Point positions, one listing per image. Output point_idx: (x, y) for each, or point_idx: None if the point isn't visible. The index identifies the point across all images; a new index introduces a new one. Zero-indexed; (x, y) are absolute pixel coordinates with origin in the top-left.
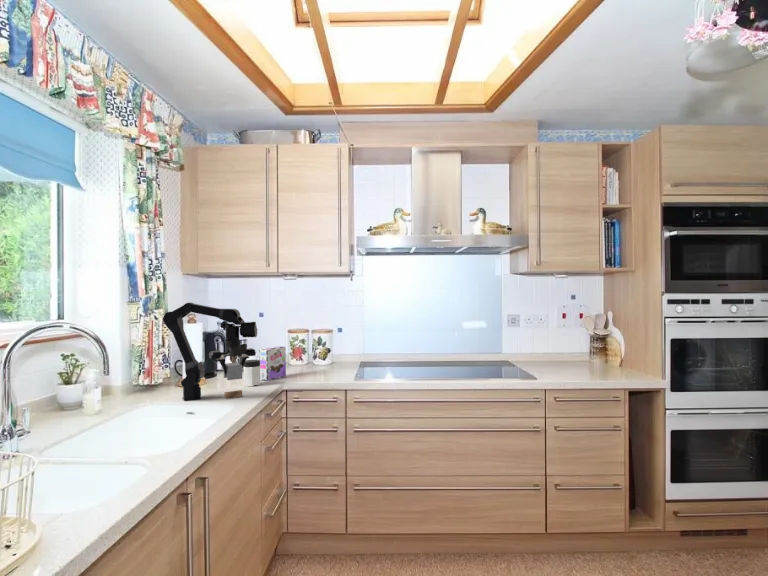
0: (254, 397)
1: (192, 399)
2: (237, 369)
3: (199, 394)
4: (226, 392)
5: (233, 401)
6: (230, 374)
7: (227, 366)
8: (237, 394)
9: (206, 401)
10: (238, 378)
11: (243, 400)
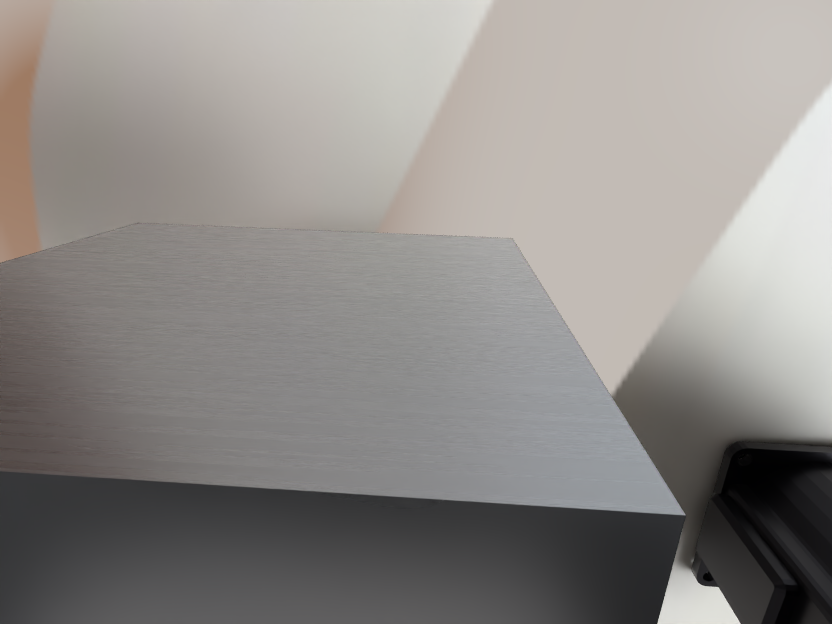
0: (139, 117)
1: (824, 449)
2: (73, 318)
3: (744, 510)
4: None
5: (442, 52)
6: (440, 277)
7: (643, 571)
8: None
9: (721, 290)
10: (227, 230)
11: (306, 21)
